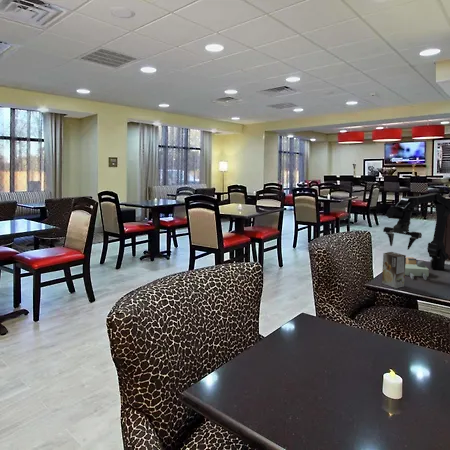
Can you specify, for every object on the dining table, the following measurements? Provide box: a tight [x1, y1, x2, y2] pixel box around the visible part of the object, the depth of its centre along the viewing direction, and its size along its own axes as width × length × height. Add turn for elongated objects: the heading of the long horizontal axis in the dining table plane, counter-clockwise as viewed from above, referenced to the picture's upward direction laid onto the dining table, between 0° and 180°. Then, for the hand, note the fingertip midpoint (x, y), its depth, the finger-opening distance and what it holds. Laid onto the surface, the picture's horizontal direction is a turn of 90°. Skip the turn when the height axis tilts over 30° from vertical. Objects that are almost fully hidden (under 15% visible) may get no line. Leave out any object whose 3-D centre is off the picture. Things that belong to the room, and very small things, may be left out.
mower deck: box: [405, 260, 430, 281], centre depth 211 cm, size 12×16×6 cm
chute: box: [405, 256, 417, 265], centre depth 224 cm, size 4×7×7 cm, turn 166°
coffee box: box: [381, 251, 407, 289], centre depth 195 cm, size 9×6×16 cm
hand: (399, 247), depth 213 cm, fingers open, 9 cm apart
